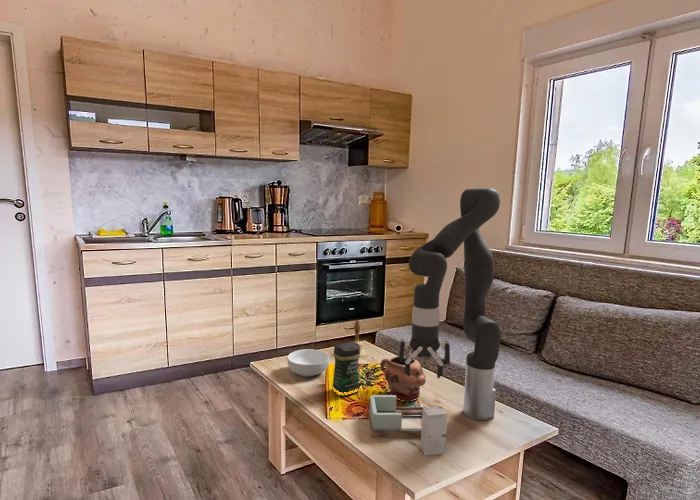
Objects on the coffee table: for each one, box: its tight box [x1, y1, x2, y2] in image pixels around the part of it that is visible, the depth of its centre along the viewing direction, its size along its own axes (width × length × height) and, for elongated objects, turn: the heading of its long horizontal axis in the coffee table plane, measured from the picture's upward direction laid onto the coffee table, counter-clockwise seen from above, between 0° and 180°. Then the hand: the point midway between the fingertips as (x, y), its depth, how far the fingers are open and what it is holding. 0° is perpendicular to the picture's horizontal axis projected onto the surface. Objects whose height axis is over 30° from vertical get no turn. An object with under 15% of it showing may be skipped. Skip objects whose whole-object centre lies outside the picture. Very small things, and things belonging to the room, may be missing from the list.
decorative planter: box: [380, 355, 427, 401], centre depth 156 cm, size 20×12×14 cm, turn 51°
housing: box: [369, 394, 403, 430], centre depth 136 cm, size 9×13×5 cm
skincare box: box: [420, 406, 448, 456], centre depth 122 cm, size 6×4×12 cm
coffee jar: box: [332, 340, 360, 393], centre depth 158 cm, size 10×8×19 cm
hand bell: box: [353, 319, 367, 358], centre depth 196 cm, size 8×8×16 cm
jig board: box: [367, 406, 427, 439], centre depth 137 cm, size 20×15×2 cm
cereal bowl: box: [287, 348, 330, 378], centre depth 175 cm, size 17×17×7 cm
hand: (423, 376), depth 123 cm, fingers open, 8 cm apart
